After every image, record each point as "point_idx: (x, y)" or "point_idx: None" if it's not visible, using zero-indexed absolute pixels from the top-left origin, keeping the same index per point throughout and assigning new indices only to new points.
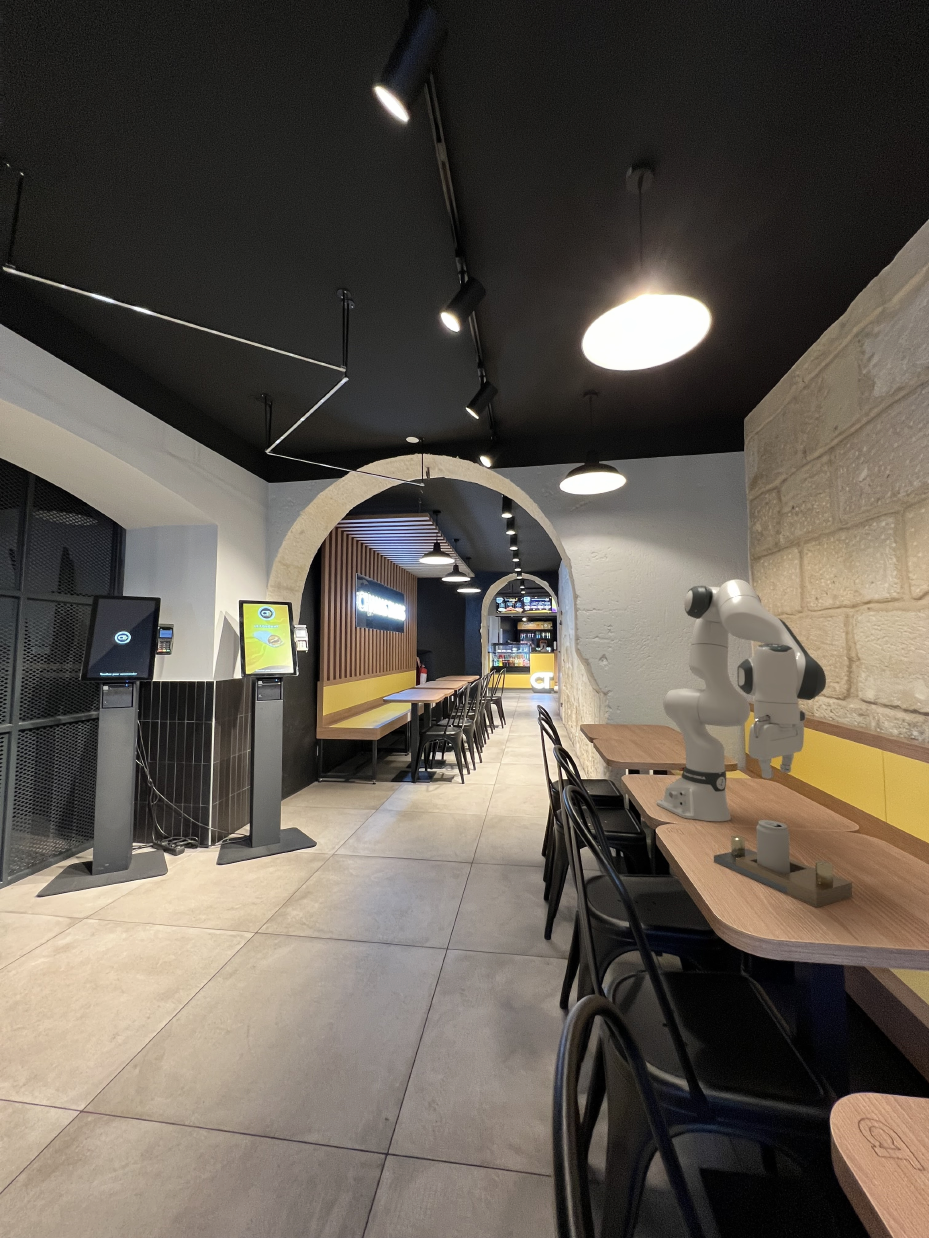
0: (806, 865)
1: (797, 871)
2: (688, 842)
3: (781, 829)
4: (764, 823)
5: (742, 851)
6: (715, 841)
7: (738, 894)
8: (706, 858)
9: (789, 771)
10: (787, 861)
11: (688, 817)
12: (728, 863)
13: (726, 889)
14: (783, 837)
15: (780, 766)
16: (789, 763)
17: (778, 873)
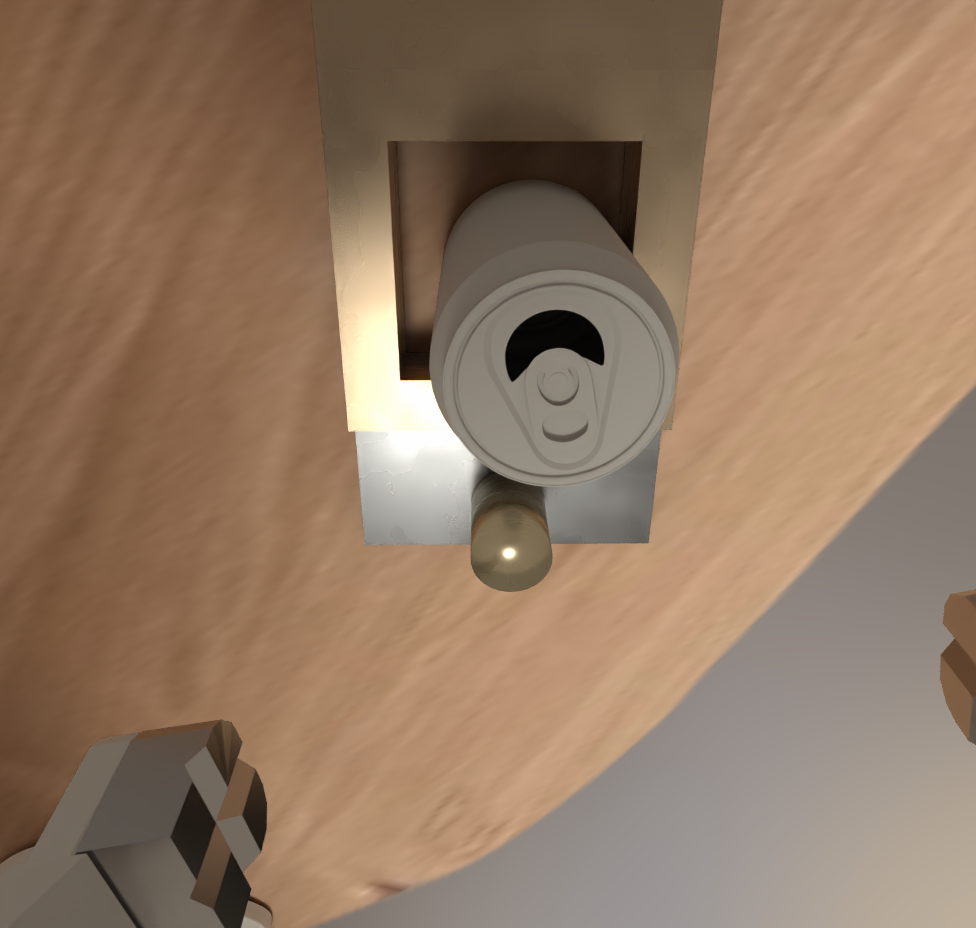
0: (335, 181)
1: (501, 136)
2: (530, 719)
3: (599, 273)
4: (607, 424)
5: (520, 488)
6: (378, 689)
7: (944, 192)
8: (636, 564)
9: (164, 736)
10: (534, 197)
11: (254, 908)
12: (655, 454)
13: (936, 263)
14: (591, 239)
15: (243, 902)
16: (56, 904)
17: (659, 167)
